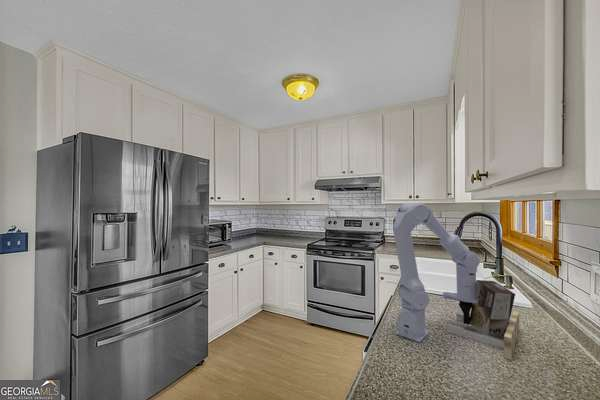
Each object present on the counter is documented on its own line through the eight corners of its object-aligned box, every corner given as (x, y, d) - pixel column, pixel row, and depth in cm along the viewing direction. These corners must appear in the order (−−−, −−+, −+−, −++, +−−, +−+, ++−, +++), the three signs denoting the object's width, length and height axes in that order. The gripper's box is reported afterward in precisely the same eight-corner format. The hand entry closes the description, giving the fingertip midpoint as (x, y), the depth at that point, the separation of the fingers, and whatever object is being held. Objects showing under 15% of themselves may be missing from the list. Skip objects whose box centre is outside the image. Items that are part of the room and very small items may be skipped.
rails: (506, 350, 76) (506, 341, 76) (446, 331, 87) (446, 324, 87) (512, 333, 85) (511, 326, 85) (457, 319, 96) (457, 312, 97)
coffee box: (506, 341, 80) (516, 294, 78) (485, 340, 80) (495, 292, 78) (486, 323, 89) (494, 280, 87) (467, 322, 89) (476, 278, 87)
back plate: (511, 360, 71) (510, 338, 71) (504, 358, 72) (504, 336, 72) (519, 329, 88) (518, 312, 88) (513, 328, 89) (513, 311, 89)
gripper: (493, 285, 87) (494, 325, 87) (446, 277, 97) (446, 313, 97) (490, 291, 82) (491, 333, 82) (440, 282, 92) (441, 320, 92)
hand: (467, 323), depth 89 cm, fingers closed, pressing on coffee box
